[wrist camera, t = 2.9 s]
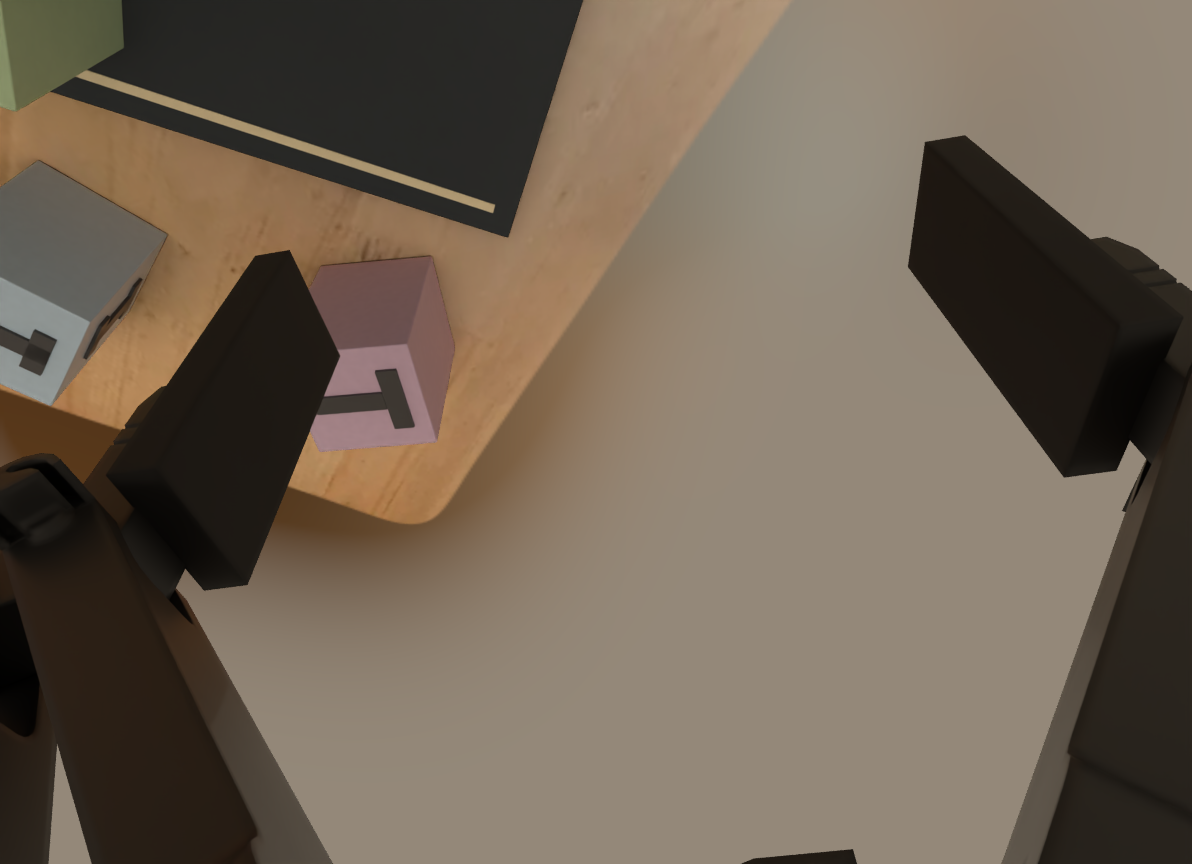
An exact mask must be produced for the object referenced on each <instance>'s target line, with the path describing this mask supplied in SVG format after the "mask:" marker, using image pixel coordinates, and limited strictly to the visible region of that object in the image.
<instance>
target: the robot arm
mask: <svg viewBox="0 0 1192 864" xmlns="http://www.w3.org/2000/svg"><path fill="white" fill-rule="evenodd" d="M908 268H909V269H910V270H911V272H912V273H913V274H914V276H915V277H916V278H917V280H918V281H919V282H920V284H921V285H922V286H923V288H924V289H925V290H926V292H927V293H928V295H929V296H930V297H931V299H932V300H933V301H934V303H935V304H936V305H937V307H938V308H939V309H940V311H941V312H942V313H943V315H944V316H945V318H946V319H947V320H948V321H949V323H950V324H951V326H952V327H953V328H954V329H955V331H956V332H957V334H958V335H959V336H960V338H961V339H962V340H963V341H964V343H965V345H966V346H967V347H968V349H969V350H970V351H971V353H972V354H973V355H974V357H975V358H976V359H977V361H978V362H979V363H980V365H981V366H982V367H983V369H984V370H985V371H986V373H987V374H988V376H989V377H990V378H991V380H992V381H993V382H994V384H995V385H996V386H997V388H998V389H999V390H1000V392H1001V393H1002V394H1003V396H1004V397H1005V399H1006V400H1007V401H1008V403H1009V404H1010V405H1011V407H1012V408H1013V409H1014V411H1015V412H1016V413H1017V415H1018V416H1019V417H1020V418H1021V420H1022V421H1023V423H1024V424H1025V426H1026V427H1027V428H1028V430H1029V431H1030V432H1031V434H1032V435H1033V436H1034V438H1035V439H1036V440H1037V442H1038V443H1039V444H1040V446H1041V447H1042V448H1043V450H1044V451H1045V453H1046V454H1047V455H1048V457H1049V458H1050V459H1051V461H1052V462H1053V463H1054V465H1055V466H1056V467H1057V469H1058V470H1059V471H1060V473H1061V474H1062V475H1063V477H1072V476H1079V475H1087V474H1095V473H1102V472H1110V471H1116V470H1117V468H1118V466H1119V464H1120V461H1121V459H1122V457H1123V455H1124V452H1125V450H1126V448H1127V445H1128V443H1129V441H1131V442H1132V443H1133V444H1134V445H1135V446H1136V447H1137V449H1138V450H1139V451H1140V452H1141V453H1142V454H1143V455H1144V456H1145V458H1146V461H1145V463H1144V465H1143V467H1142V469H1141V472H1140V474H1139V476H1138V478H1137V480H1136V482H1135V484H1134V487H1133V489H1132V491H1131V493H1130V495H1129V497H1128V499H1127V501H1126V504H1125V506H1124V508H1123V510H1122V511H1124V512H1126V513H1125V516H1124V518H1123V521H1122V524H1121V527H1120V530H1119V533H1118V535H1117V539H1116V541H1115V544H1114V547H1113V550H1112V553H1111V555H1110V558H1109V561H1108V564H1107V567H1106V569H1105V572H1104V575H1103V578H1102V581H1101V584H1100V587H1099V589H1098V592H1097V595H1096V598H1095V601H1094V603H1093V606H1092V609H1091V612H1090V615H1089V618H1088V621H1087V623H1086V626H1085V629H1084V632H1083V635H1082V637H1081V640H1080V643H1079V646H1078V649H1077V652H1076V654H1075V657H1074V660H1073V663H1072V666H1071V669H1070V671H1069V674H1068V677H1067V680H1066V683H1065V686H1064V689H1063V691H1062V694H1061V697H1060V700H1059V703H1058V705H1057V708H1056V711H1055V714H1054V717H1053V720H1052V722H1051V725H1050V728H1049V731H1048V734H1047V737H1046V740H1045V742H1044V745H1043V748H1042V751H1041V754H1040V756H1039V760H1038V763H1037V765H1036V768H1035V771H1034V773H1033V776H1032V780H1031V782H1030V785H1029V788H1028V790H1027V793H1026V796H1025V799H1024V802H1023V805H1022V808H1021V810H1020V813H1019V816H1018V819H1017V822H1016V825H1015V827H1014V830H1013V833H1012V836H1011V839H1010V841H1009V845H1008V847H1007V850H1006V853H1005V856H1004V858H1003V860H1002V863H1001V864H1192V291H1191V290H1190V289H1189V288H1187V287H1186V286H1184V285H1183V284H1182V283H1177V282H1176V278H1174V277H1173V276H1172V275H1171V274H1169V273H1168V272H1167V271H1165V270H1164V269H1159V265H1158V264H1156V263H1155V262H1154V261H1153V260H1151V259H1150V258H1149V257H1147V256H1146V255H1145V254H1143V253H1142V252H1141V251H1140V250H1138V249H1136V248H1134V247H1131V246H1129V245H1126V244H1124V243H1121V242H1118V241H1116V240H1113V239H1111V238H1108V237H1102V238H1096V239H1089V238H1088V237H1087V236H1086V235H1084V234H1083V233H1082V232H1081V231H1080V230H1079V229H1077V228H1076V227H1075V226H1074V225H1072V224H1071V223H1070V222H1069V221H1068V220H1067V219H1065V218H1064V217H1063V216H1062V215H1060V214H1059V213H1058V212H1057V211H1056V210H1054V209H1053V208H1052V207H1051V206H1050V205H1048V204H1047V203H1046V202H1045V201H1044V200H1042V199H1041V198H1040V197H1039V196H1038V195H1036V194H1035V193H1034V192H1033V191H1031V190H1030V189H1029V188H1028V187H1027V186H1025V185H1024V184H1023V183H1022V182H1021V181H1020V180H1018V179H1017V178H1016V177H1015V176H1013V175H1012V174H1011V173H1010V172H1009V171H1007V170H1006V169H1005V168H1004V167H1003V166H1001V165H1000V164H999V163H998V162H997V161H995V160H994V159H993V158H992V157H991V156H989V155H988V154H987V153H986V152H985V151H983V150H982V149H981V148H980V147H979V146H977V145H976V144H975V143H974V142H972V141H971V140H970V139H969V138H968V137H966V136H958V137H952V138H947V139H940V140H935V141H929V142H925V146H924V154H923V161H922V168H921V175H920V183H919V190H918V198H917V205H916V212H915V219H914V227H913V234H912V241H911V249H910V256H909V264H908ZM339 358H340V354H339V352H338V350H337V348H336V346H335V344H334V341H333V339H332V337H331V335H330V333H329V331H328V329H327V327H326V325H325V323H324V321H323V319H322V317H321V314H320V312H319V310H318V308H317V306H316V304H315V302H314V300H313V298H312V296H311V294H310V292H309V289H308V287H307V285H306V283H305V281H304V279H303V277H302V275H301V273H300V271H299V269H298V267H297V265H296V262H295V260H294V258H293V256H292V254H291V252H290V250H287V251H281V252H275V253H269V254H264V255H258V256H255V257H254V258H253V260H252V261H251V263H250V264H249V266H248V267H247V269H246V270H245V272H244V273H243V274H242V276H241V277H240V279H239V280H238V282H237V283H236V285H235V286H234V288H233V289H232V291H231V292H230V293H229V295H228V296H227V298H226V299H225V301H224V302H223V304H222V305H221V307H220V308H219V310H218V311H217V312H216V314H215V315H214V317H213V318H212V320H211V321H210V323H209V324H208V326H207V327H206V329H205V330H204V332H203V333H202V334H201V336H200V337H199V339H198V340H197V342H196V343H195V345H194V346H193V348H192V349H191V351H190V352H189V353H188V355H187V356H186V358H185V359H184V361H183V362H182V364H181V365H180V367H179V368H178V370H177V371H176V372H175V374H174V375H173V377H172V378H171V380H170V381H169V383H168V384H167V386H163V387H161V388H159V389H158V390H157V391H156V392H155V393H153V394H152V395H151V396H150V397H149V398H147V399H146V400H145V401H144V402H143V403H141V404H140V405H139V406H138V407H137V409H136V410H135V412H134V413H133V415H132V416H131V417H130V419H129V420H128V422H127V423H126V424H125V429H122V430H121V432H120V433H119V434H118V436H117V437H116V439H115V440H114V445H112V446H110V447H109V449H108V450H107V451H106V453H105V454H104V456H103V457H102V458H101V460H100V461H99V463H98V464H97V465H96V467H95V468H94V470H93V471H92V473H91V474H90V475H89V477H88V478H87V480H86V481H85V483H84V484H82V483H81V482H80V481H79V479H78V478H77V477H76V476H75V475H74V474H73V473H72V472H71V471H70V469H69V468H68V467H67V466H66V465H65V464H64V463H63V462H62V461H61V459H59V458H58V457H57V456H55V455H54V454H44V453H39V454H35V455H30V456H26V457H22V458H20V459H17V460H15V461H13V462H10V463H8V464H6V465H4V466H2V467H0V864H48V861H49V847H50V834H51V820H52V806H53V792H54V778H55V763H56V751H57V744H58V748H59V751H60V754H61V758H62V761H63V765H64V769H65V772H66V776H67V779H68V783H69V786H70V790H71V793H72V796H73V800H74V803H75V807H76V810H77V814H78V817H79V821H80V824H81V828H82V831H83V835H84V838H85V842H86V845H87V849H88V852H89V856H90V859H91V862H92V864H333V863H332V861H331V859H330V858H329V856H328V854H327V852H326V850H325V849H324V847H323V845H322V843H321V841H320V840H319V838H318V836H317V834H316V832H315V831H314V829H313V827H312V825H311V823H310V822H309V820H308V818H307V816H306V814H305V813H304V811H303V809H302V807H301V805H300V804H299V802H298V800H297V798H296V796H295V795H294V793H293V791H292V789H291V787H290V786H289V784H288V782H287V780H286V778H285V776H284V775H283V773H282V771H281V769H280V767H279V766H278V764H277V762H276V760H275V758H274V757H273V755H272V753H271V751H270V750H269V748H268V746H267V744H266V742H265V741H264V739H263V737H262V735H261V733H260V731H259V730H258V728H257V726H256V724H255V722H254V721H253V719H252V717H251V715H250V713H249V712H248V710H247V708H246V706H245V705H244V703H243V701H242V699H241V697H240V695H239V694H238V692H237V690H236V688H235V687H234V685H233V683H232V681H231V679H230V677H229V675H228V674H227V672H226V670H225V668H224V667H223V665H222V663H221V661H220V660H219V658H218V656H217V654H216V652H215V650H214V648H213V647H212V645H211V643H210V641H209V640H208V638H207V636H206V634H205V632H204V630H203V629H202V627H201V625H200V623H199V622H198V620H197V618H196V616H195V614H194V612H193V611H192V609H191V607H190V605H189V603H188V602H187V600H186V599H185V598H184V597H183V596H182V595H181V594H180V592H179V591H178V590H177V589H176V586H177V584H178V582H179V580H180V578H181V576H182V574H183V572H184V570H185V569H186V570H187V571H188V572H189V573H190V575H191V576H192V577H193V578H194V579H195V580H196V582H197V583H198V584H199V585H200V586H201V587H202V589H203V590H212V589H220V588H226V587H227V588H228V587H235V586H243V585H248V582H249V580H250V577H251V575H252V572H253V570H254V567H255V565H256V563H257V560H258V558H259V555H260V553H261V550H262V548H263V545H264V543H265V540H266V538H267V535H268V533H269V530H270V528H271V526H272V523H273V521H274V518H275V515H276V513H277V511H278V508H279V506H280V503H281V501H282V498H283V496H284V493H285V491H286V488H287V486H288V484H289V481H290V479H291V476H292V474H293V471H294V469H295V466H296V464H297V462H298V459H299V457H300V454H301V452H302V449H303V447H304V444H305V442H306V439H307V437H308V434H309V432H310V429H311V427H312V425H313V422H314V420H315V417H316V415H317V412H318V410H319V407H320V405H321V402H322V400H323V397H324V395H325V393H326V390H327V388H328V385H329V383H330V380H331V378H332V375H333V373H334V370H335V368H336V365H337V363H338V360H339ZM742 864H857V862H856V859H855V855H854V851H853V849H851V850H840V851H830V852H820V853H808V854H798V855H787V856H777V857H766V858H755V859H752V860H749V861H747V862H744V863H742Z"/></svg>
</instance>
